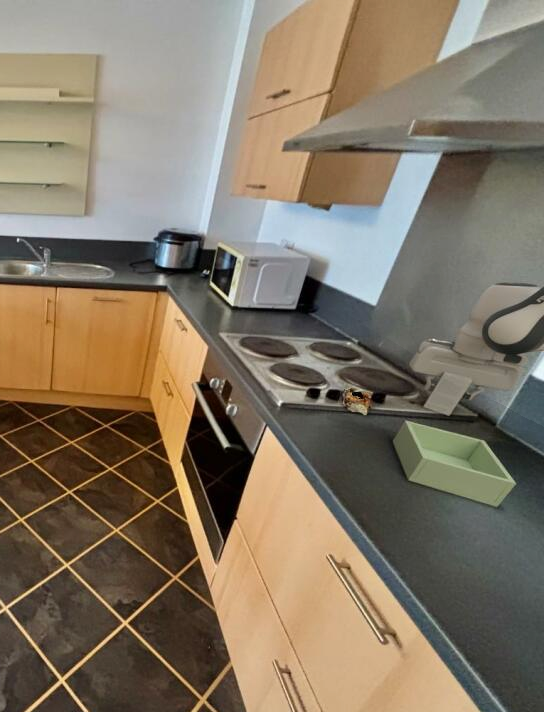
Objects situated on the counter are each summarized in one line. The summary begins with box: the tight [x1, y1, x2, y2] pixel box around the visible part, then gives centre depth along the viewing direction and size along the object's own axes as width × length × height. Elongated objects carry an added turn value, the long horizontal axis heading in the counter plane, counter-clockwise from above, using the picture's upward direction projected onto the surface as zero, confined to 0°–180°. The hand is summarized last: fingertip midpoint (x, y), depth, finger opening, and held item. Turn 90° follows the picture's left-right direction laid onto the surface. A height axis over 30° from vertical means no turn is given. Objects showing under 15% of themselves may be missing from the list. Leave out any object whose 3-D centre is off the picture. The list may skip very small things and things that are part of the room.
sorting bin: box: [392, 420, 517, 508], centre depth 85 cm, size 14×16×6 cm
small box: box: [422, 372, 473, 416], centre depth 109 cm, size 8×6×10 cm
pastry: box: [339, 385, 373, 416], centre depth 109 cm, size 7×12×4 cm, turn 154°
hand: (446, 394), depth 110 cm, fingers closed on small box, 6 cm apart
